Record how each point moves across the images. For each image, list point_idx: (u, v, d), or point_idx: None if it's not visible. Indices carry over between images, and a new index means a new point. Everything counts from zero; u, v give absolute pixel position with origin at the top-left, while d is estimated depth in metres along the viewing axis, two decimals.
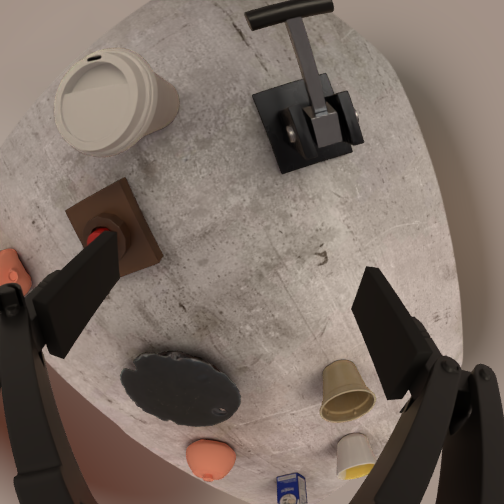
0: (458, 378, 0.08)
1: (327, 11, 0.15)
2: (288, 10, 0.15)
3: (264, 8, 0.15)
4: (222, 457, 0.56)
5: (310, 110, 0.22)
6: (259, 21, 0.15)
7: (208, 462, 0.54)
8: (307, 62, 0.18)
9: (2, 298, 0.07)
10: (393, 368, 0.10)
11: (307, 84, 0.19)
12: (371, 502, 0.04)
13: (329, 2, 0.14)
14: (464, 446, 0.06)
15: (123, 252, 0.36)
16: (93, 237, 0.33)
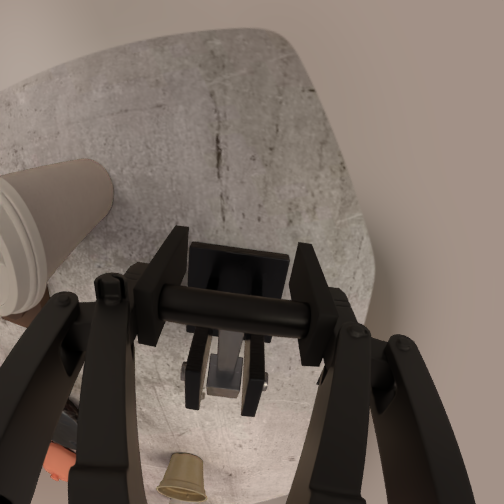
0: (369, 342, 0.09)
1: None
2: (226, 326, 0.12)
3: (191, 306, 0.11)
4: None
5: (215, 366, 0.19)
6: (174, 321, 0.12)
7: (57, 467, 0.45)
8: (226, 357, 0.15)
9: (103, 287, 0.09)
10: None
11: (217, 365, 0.16)
12: (307, 490, 0.05)
13: (300, 335, 0.12)
14: (398, 426, 0.07)
15: (19, 317, 0.28)
16: None
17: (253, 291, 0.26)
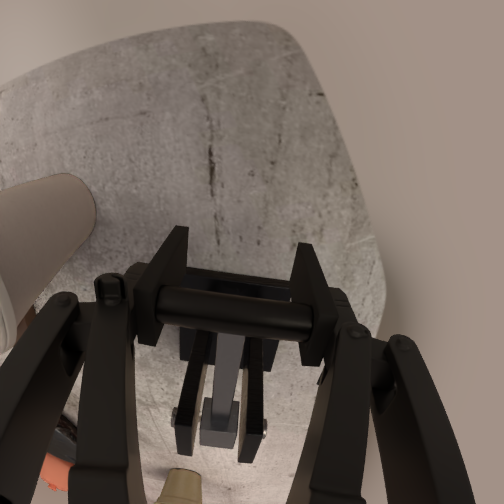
0: (369, 342, 0.09)
1: None
2: (226, 325, 0.11)
3: (190, 302, 0.11)
4: None
5: (209, 409, 0.16)
6: (171, 321, 0.11)
7: (55, 477, 0.43)
8: (223, 383, 0.13)
9: (103, 287, 0.09)
10: None
11: (213, 399, 0.14)
12: (308, 490, 0.05)
13: (304, 334, 0.11)
14: (398, 426, 0.07)
15: None
16: None
17: None
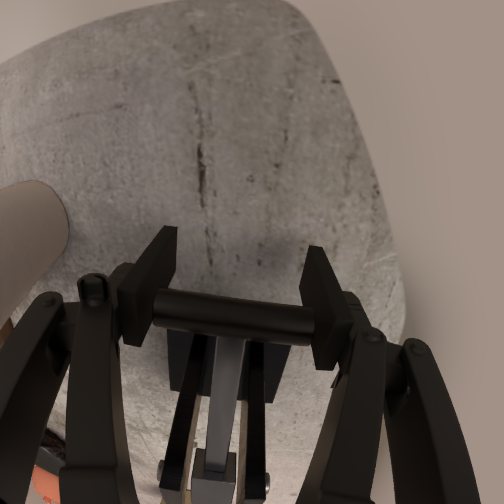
0: (384, 347, 0.09)
1: (297, 344, 0.11)
2: (226, 322, 0.10)
3: (190, 298, 0.11)
4: None
5: (202, 459, 0.13)
6: (168, 319, 0.10)
7: (49, 491, 0.38)
8: (220, 411, 0.11)
9: (86, 287, 0.09)
10: (320, 338, 0.12)
11: (207, 437, 0.12)
12: (318, 491, 0.05)
13: (308, 331, 0.11)
14: (410, 428, 0.07)
15: None
16: None
17: (251, 357, 0.19)
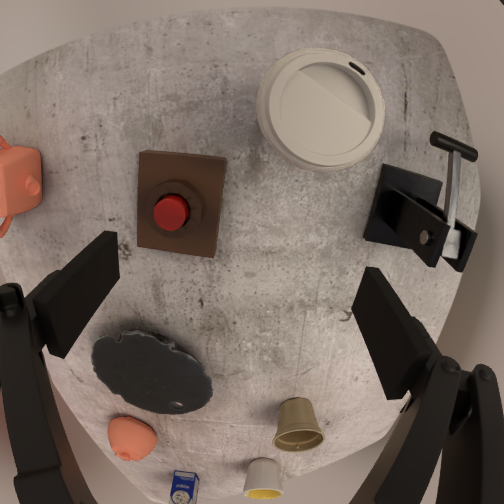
0: (458, 378, 0.08)
1: (473, 158, 0.24)
2: (457, 144, 0.23)
3: (445, 135, 0.23)
4: (147, 442, 0.54)
5: None
6: (442, 140, 0.23)
7: (132, 443, 0.51)
8: (455, 185, 0.24)
9: (2, 298, 0.07)
10: (393, 368, 0.10)
11: (450, 202, 0.24)
12: (371, 502, 0.04)
13: (476, 153, 0.23)
14: (464, 446, 0.06)
15: (188, 233, 0.33)
16: (168, 203, 0.30)
17: (426, 200, 0.32)
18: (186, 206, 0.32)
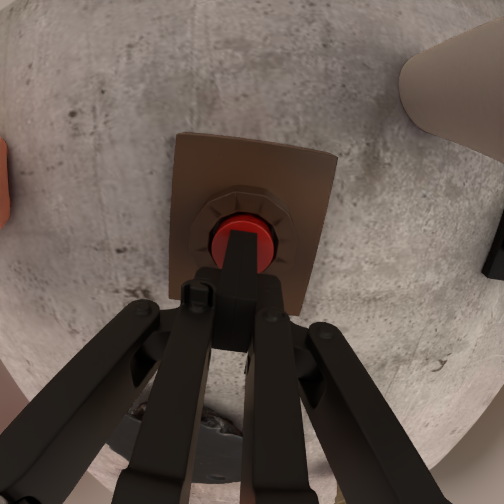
0: (288, 325, 0.10)
1: None
2: None
3: None
4: None
5: None
6: None
7: None
8: None
9: (190, 292, 0.10)
10: None
11: None
12: (252, 490, 0.05)
13: None
14: (335, 421, 0.07)
15: None
16: (243, 230, 0.17)
17: None
18: (271, 233, 0.18)
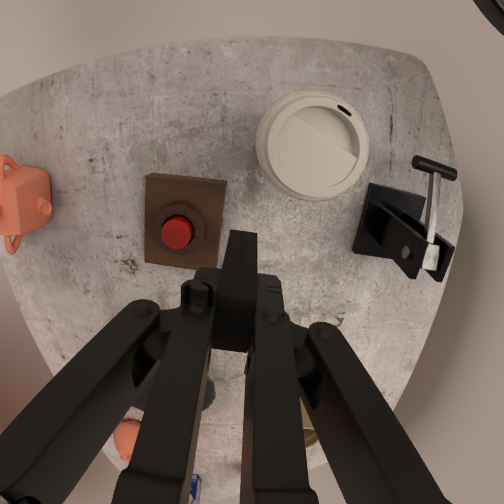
0: (288, 325, 0.10)
1: (453, 178, 0.28)
2: (437, 166, 0.27)
3: (426, 158, 0.28)
4: None
5: None
6: (423, 163, 0.27)
7: None
8: (434, 204, 0.28)
9: (190, 292, 0.10)
10: None
11: (429, 219, 0.28)
12: (252, 490, 0.05)
13: (456, 173, 0.28)
14: (335, 421, 0.07)
15: (192, 250, 0.37)
16: (175, 224, 0.34)
17: (410, 216, 0.36)
18: (191, 226, 0.35)
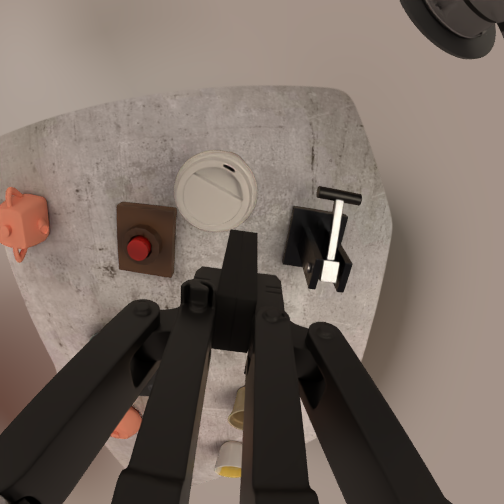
0: (288, 325, 0.10)
1: (357, 203, 0.38)
2: (339, 194, 0.37)
3: (329, 188, 0.38)
4: (133, 422, 0.67)
5: (324, 258, 0.40)
6: (324, 193, 0.37)
7: (121, 422, 0.65)
8: (335, 227, 0.38)
9: (190, 292, 0.10)
10: None
11: (330, 240, 0.38)
12: (252, 490, 0.05)
13: (360, 198, 0.38)
14: (335, 421, 0.07)
15: (151, 261, 0.47)
16: (136, 243, 0.44)
17: None
18: (148, 243, 0.46)
